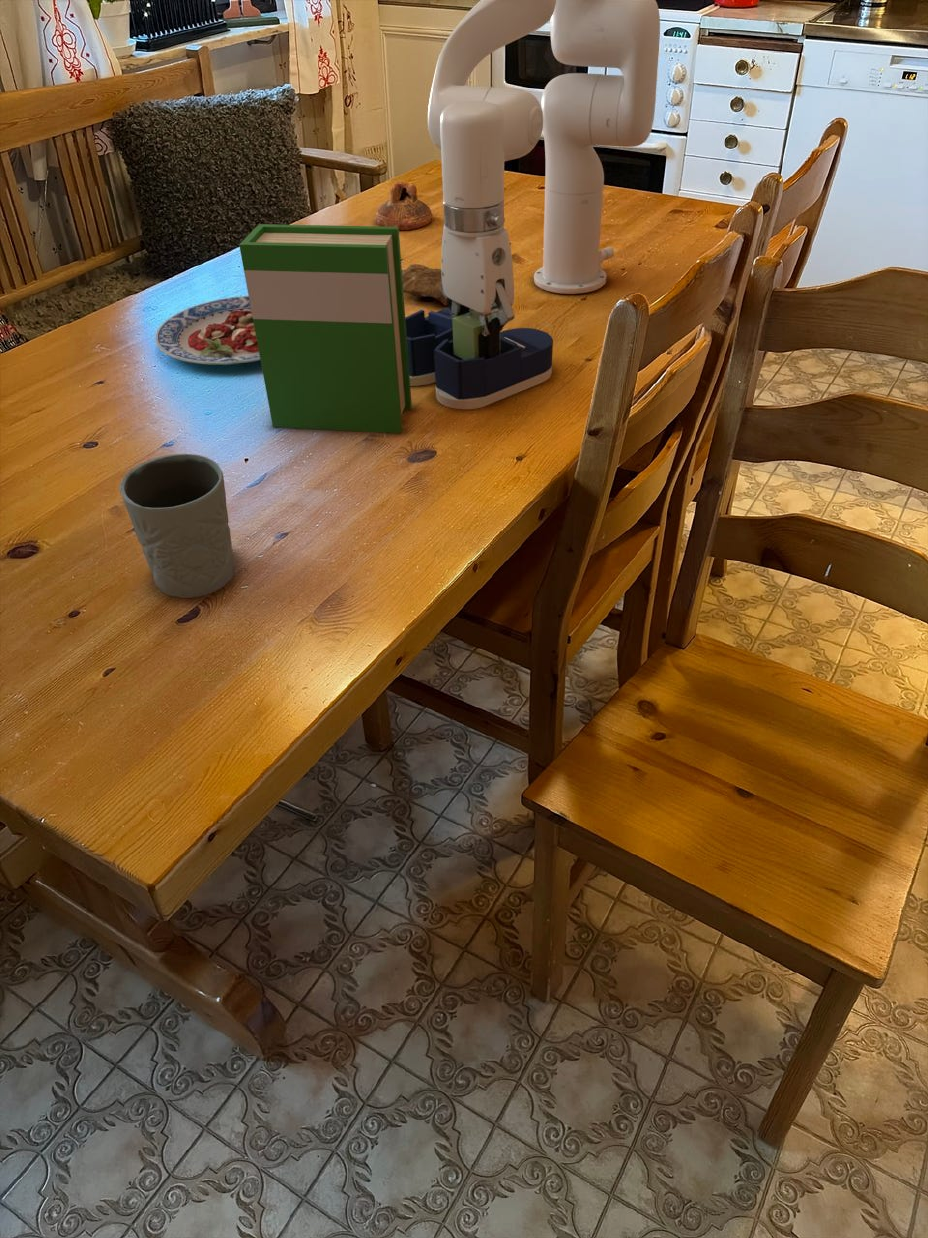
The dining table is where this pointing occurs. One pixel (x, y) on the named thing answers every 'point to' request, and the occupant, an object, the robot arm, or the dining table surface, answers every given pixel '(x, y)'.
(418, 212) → the bell
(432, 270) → the decorative rock
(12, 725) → the dining table surface
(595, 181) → the robot arm
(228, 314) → the ceramic plate
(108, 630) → the dining table surface
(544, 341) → the sneaker
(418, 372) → the sneaker
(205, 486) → the grey embossed cup
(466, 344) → the green block
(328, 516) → the dining table surface
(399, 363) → the hardback book
